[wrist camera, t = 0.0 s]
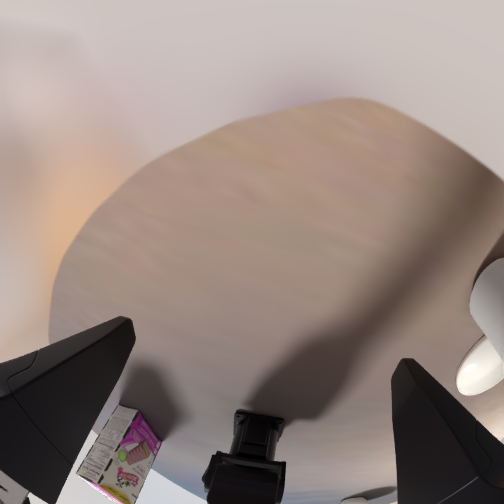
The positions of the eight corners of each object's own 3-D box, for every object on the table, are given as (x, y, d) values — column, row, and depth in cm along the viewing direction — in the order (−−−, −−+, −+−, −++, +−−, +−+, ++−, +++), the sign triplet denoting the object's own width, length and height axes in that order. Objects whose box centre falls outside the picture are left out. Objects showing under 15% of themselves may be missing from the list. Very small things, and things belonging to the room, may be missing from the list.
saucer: (495, 386, 24) (497, 390, 24) (440, 393, 26) (442, 399, 25) (535, 320, 20) (538, 324, 19) (483, 320, 21) (487, 325, 20)
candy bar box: (164, 442, 40) (133, 510, 25) (142, 437, 41) (110, 500, 26) (140, 408, 36) (97, 486, 21) (117, 402, 37) (73, 473, 22)
